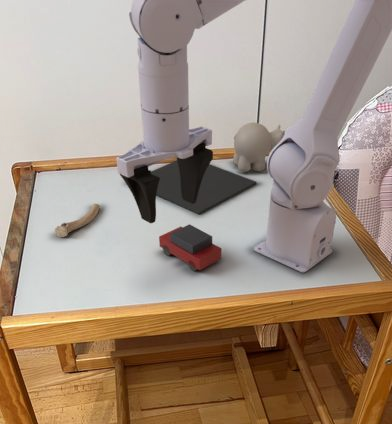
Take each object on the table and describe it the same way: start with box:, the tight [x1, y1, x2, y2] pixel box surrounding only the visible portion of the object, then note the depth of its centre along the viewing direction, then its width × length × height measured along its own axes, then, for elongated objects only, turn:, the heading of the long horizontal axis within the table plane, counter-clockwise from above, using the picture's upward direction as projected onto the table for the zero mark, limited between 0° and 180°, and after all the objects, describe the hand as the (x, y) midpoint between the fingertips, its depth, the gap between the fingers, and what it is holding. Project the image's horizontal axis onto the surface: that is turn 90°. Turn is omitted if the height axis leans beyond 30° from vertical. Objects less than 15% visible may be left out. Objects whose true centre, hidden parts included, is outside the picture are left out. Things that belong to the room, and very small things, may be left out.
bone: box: [54, 203, 100, 238], centre depth 87 cm, size 3×11×2 cm, turn 153°
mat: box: [151, 160, 257, 215], centre depth 98 cm, size 18×16×1 cm
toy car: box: [158, 223, 222, 272], centre depth 79 cm, size 9×4×4 cm
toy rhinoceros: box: [232, 122, 286, 173], centre depth 101 cm, size 7×12×8 cm, turn 99°
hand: (169, 210), depth 71 cm, fingers open, 7 cm apart
